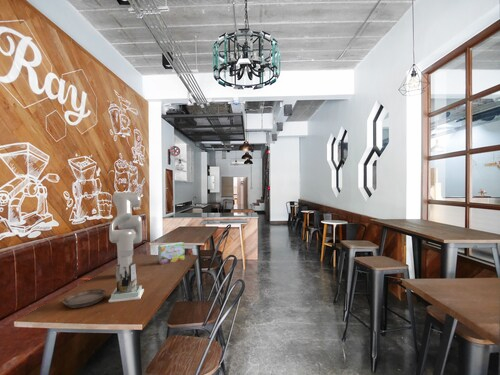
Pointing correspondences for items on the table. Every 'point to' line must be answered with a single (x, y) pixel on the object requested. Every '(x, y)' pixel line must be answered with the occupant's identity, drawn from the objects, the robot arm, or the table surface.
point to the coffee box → (131, 280)
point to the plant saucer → (84, 298)
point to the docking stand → (126, 295)
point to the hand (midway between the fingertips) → (126, 283)
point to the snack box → (170, 253)
